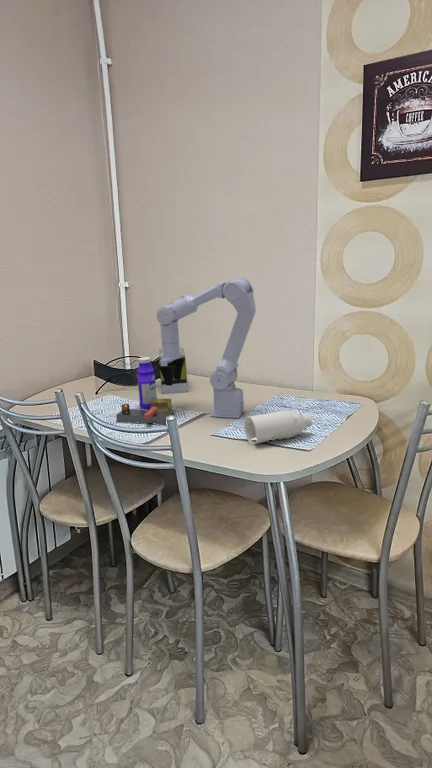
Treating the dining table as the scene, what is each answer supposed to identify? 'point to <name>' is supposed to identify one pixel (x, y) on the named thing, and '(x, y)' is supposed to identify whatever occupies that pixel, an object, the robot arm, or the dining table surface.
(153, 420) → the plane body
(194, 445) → the dining table surface
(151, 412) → the lever
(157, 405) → the tan rectangular block
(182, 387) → the tea box
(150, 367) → the bottle
